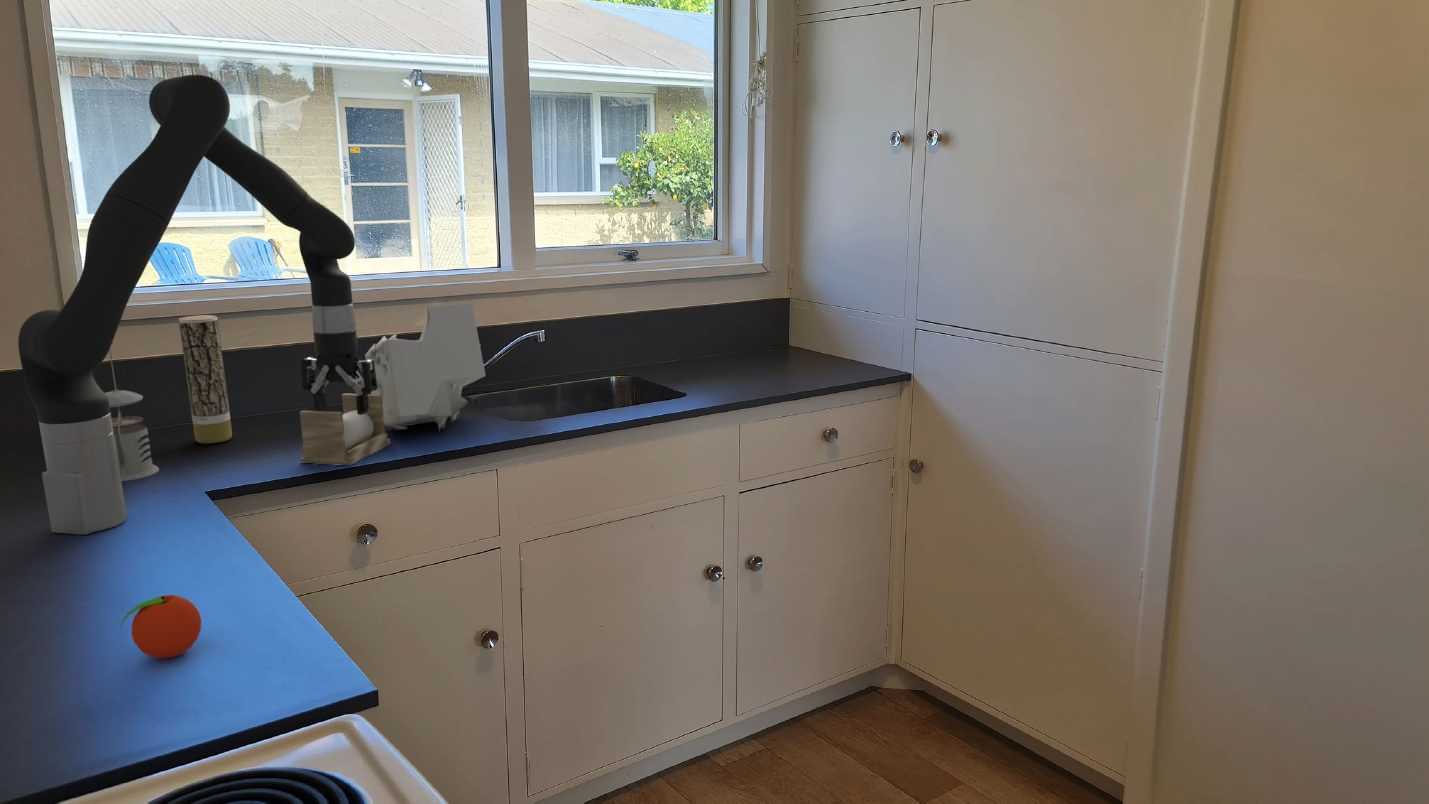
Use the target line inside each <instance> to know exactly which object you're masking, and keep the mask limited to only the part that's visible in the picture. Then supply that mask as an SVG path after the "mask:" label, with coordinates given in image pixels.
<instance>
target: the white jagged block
mask: <svg viewBox="0 0 1429 804" xmlns="http://www.w3.org/2000/svg"><path fill="white" fill-rule="evenodd" d="M426 311H427V312H426V313H427V314H426V316H427V317H426V320H425V322H424V325H423V329H422V331H421V335H420V337H419V339H416V340H411V339H402V338H400V339H399V338H396V337H397V335H398V334H393V335H392V336H391V337H389V338H388V337H386V336H385V335H384V336H383V337H382V338H381V339H380V340H379V341H378V342H377V343H376V344H373V345H372V346H371V347H370V348H369V349H368V351H367V352H366V354H364V355H365V356H364V357H365V361H366V360H370V359H372V360H373V361H374V364H375V372H376V379H377V387H378V388H377V390H375V391H372V392H370V393H371V394H372V395H382V404H383V416H384V426H387V427H389V428H390V427H391V428H394V429H395V430H396V431H398V430H400V431H402V430H406V429H408V427H406V425H412V424H413V425H414V424H423V423H428V422H434V423H435V424H436V423H437V428H438V431H440V430H441V429H442V430H443V429H444V430H445V429H446V428H447V427H448V426H449V425H451V423H453V422H454V421H455V420H456V419H457V416H458V415H459V414H460V410H461V409H462V408H464V407H465V406H467V404H468V403H469V401H468V400H467V399H465V398H464V397H463V396H462V392H463V391H462V390H463V388H464V387H466V386H467V385H469V384H472V383H474V382H476V381H478V380H480V379H482V378H484V377H487V376H486V375H487V374H486V370H485V365H484V360H483V354H482V349H481V344H480V343H481V342H480V337H479V333H478V328H477V327H478V326H477V323H476V318H475V312H474V308H473V302H471V301H469V302H462V303H461V302H458V303H446V304H433V305H427V306H426Z"/></svg>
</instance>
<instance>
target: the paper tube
mask: <svg viewBox="0 0 1429 804" xmlns="http://www.w3.org/2000/svg"><path fill="white" fill-rule="evenodd" d="M178 324H179V326H178V327H179V331H180V333H179V334H180V338H181V347H182V352H183V353H182V354H183V361H184V367H185V375H186V383H187V389H188V390H187V391H188V397H189V405H190V413H191V421H192V426H193V434H194V440H195V441H196V442H197V443H199V444H207V445H208V444H217V443H218V444H219V443H223V442H226V441H229V440H230V439H231V438H232V436H233V429H232V423H231V421H232V420H231V414H230V413H231V412H230V406H229V398H228V397H229V396H228V389H227V383H226V375H225V374H226V373H225V365H224V360H223V359H224V358H223V350H222V349H223V348H222V342H221V335H220V334H221V333H220V329H219V327H220V326H219V319H218V316H217V315H213V314H211V315H210V314H207V315H206V314H205V315H191V316H190V315H189V316H182V317H180V318H178Z"/></svg>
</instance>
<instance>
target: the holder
mask: <svg viewBox="0 0 1429 804" xmlns="http://www.w3.org/2000/svg"><path fill="white" fill-rule="evenodd" d="M356 396H357V393H347V392H346V393H342V394H341V399H342V408H343V409H342V411H328V410H326V411H316V410H307V409H306V410H301V411H299V418H300V419H299V420H300V427H301V438H302V446H303V448H302V449H301V450H302V451H301V452H302V457H300V458H299V461H300V462H305V463H317V464H316V465H318V464H341V465H350V464H353V463H354V464H356V463H358V462H360V461H362V460H364V459H365V458H364V457H366V458H368V457H369V456H371V455H373V454H375V453H377V452H378V450H379V451H380V450H382V449H385V447H388V446H389V445H391V444H392V443H391V439H390V438H388V433H387V432H386V428H385V425H384V416H383V404H382V395H372V394H370V393H368V403H369V409H368V410H367V412H366V414H367V415H368V416H369V417H370V418H371V420H372V422H373V434H372V436H371V437H370V438H369V439H368V440H366V441H364V442H362V443H360V444H358V445H356V446H354V447H352V448H350V449H348V450H346V446H345V436H344V426H343V416H342V415H343V414H346V413H348V412H350V411H353V410H357V402H356ZM374 452H375V453H374ZM370 454H371V455H370ZM368 455H369V456H368ZM363 458H364V459H363ZM361 459H362V460H361ZM359 460H360V461H359ZM357 461H358V462H357ZM355 462H356V463H355ZM354 464H353V465H354Z"/></svg>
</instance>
